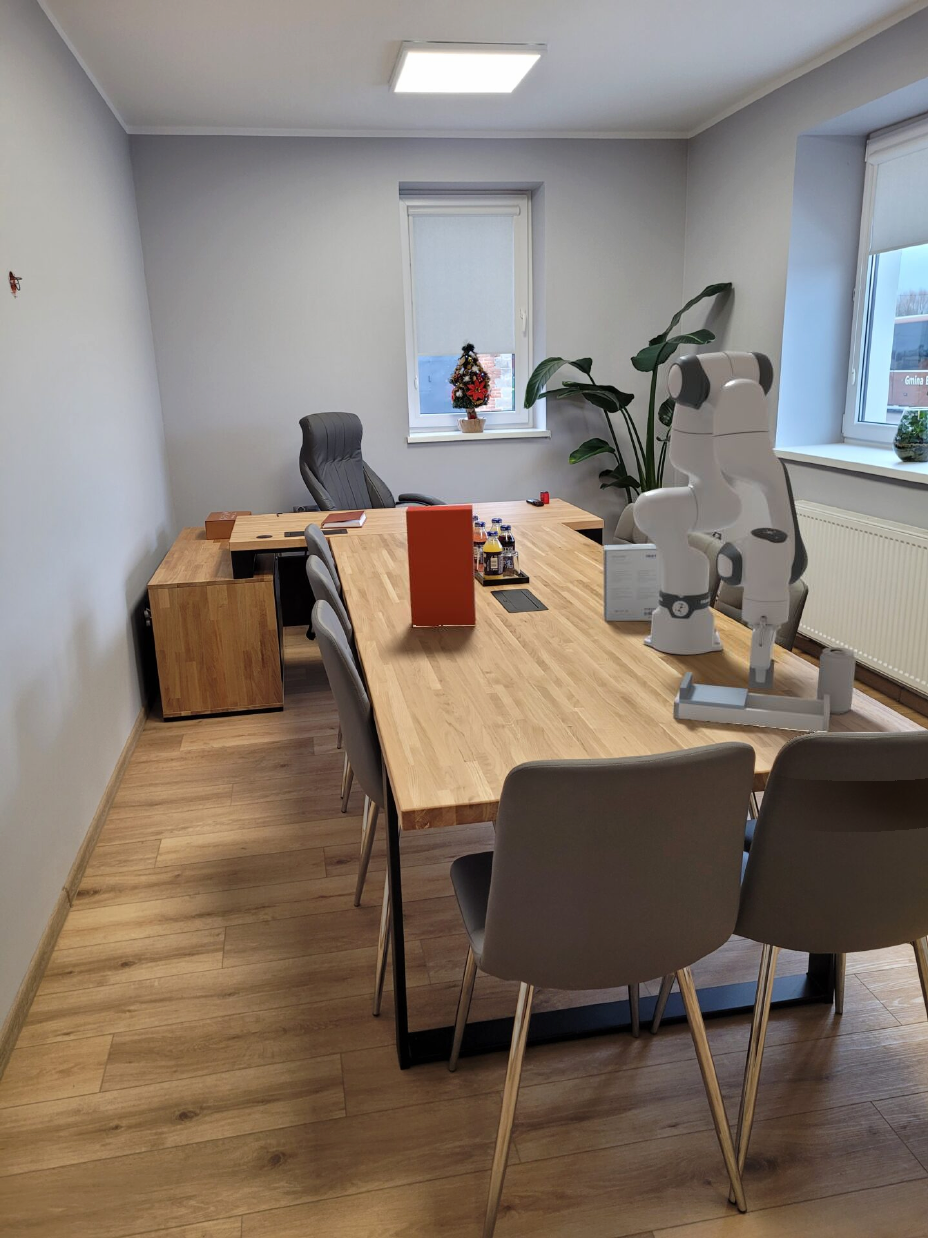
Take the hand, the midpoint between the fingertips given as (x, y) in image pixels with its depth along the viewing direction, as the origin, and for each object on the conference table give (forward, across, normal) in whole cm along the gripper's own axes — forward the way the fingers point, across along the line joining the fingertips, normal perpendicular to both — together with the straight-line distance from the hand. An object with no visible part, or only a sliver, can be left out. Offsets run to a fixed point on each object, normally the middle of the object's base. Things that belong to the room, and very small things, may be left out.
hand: (761, 676), depth 179 cm
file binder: (+4, +35, +85) cm, 92 cm away
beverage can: (+5, -2, -14) cm, 15 cm away
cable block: (+2, 0, 0) cm, 2 cm away
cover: (+1, -11, +8) cm, 14 cm away
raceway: (+5, -11, +1) cm, 12 cm away
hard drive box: (+4, +54, +37) cm, 66 cm away
